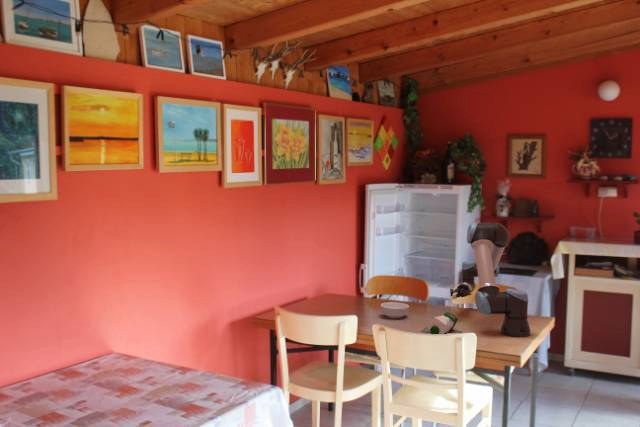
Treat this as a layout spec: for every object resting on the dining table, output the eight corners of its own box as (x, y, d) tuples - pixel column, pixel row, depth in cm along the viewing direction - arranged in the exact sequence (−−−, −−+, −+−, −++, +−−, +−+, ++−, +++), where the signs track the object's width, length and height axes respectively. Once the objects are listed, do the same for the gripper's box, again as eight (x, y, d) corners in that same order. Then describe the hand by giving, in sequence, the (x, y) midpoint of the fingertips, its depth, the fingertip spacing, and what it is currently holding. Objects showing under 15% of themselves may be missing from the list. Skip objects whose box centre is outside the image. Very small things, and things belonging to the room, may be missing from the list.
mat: (462, 331, 341) (462, 331, 341) (457, 336, 332) (457, 335, 332) (426, 327, 350) (426, 326, 350) (420, 331, 341) (420, 331, 341)
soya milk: (440, 322, 349) (424, 329, 333) (447, 309, 346) (432, 315, 330) (453, 331, 345) (438, 339, 328) (460, 318, 342) (446, 325, 326)
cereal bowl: (405, 321, 363) (406, 309, 362) (377, 319, 368) (377, 307, 368) (411, 314, 379) (411, 303, 378) (384, 312, 384) (384, 301, 384)
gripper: (474, 296, 379) (464, 304, 358) (453, 294, 384) (442, 302, 363) (474, 284, 378) (465, 291, 357) (453, 282, 384) (442, 289, 363)
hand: (453, 297), depth 360 cm, fingers closed
